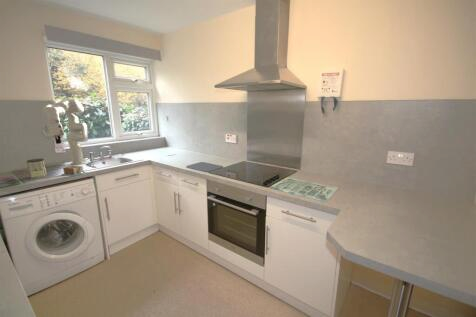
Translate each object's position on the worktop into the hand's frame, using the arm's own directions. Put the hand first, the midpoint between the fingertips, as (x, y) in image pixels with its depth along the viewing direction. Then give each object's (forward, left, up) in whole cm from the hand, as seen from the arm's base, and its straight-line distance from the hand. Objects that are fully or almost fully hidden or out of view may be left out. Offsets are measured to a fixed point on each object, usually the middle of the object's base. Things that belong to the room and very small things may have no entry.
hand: (58, 143), depth 186 cm
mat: (0, +14, -26) cm, 29 cm away
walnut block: (0, +6, -23) cm, 23 cm away
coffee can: (+14, -9, -26) cm, 31 cm away
